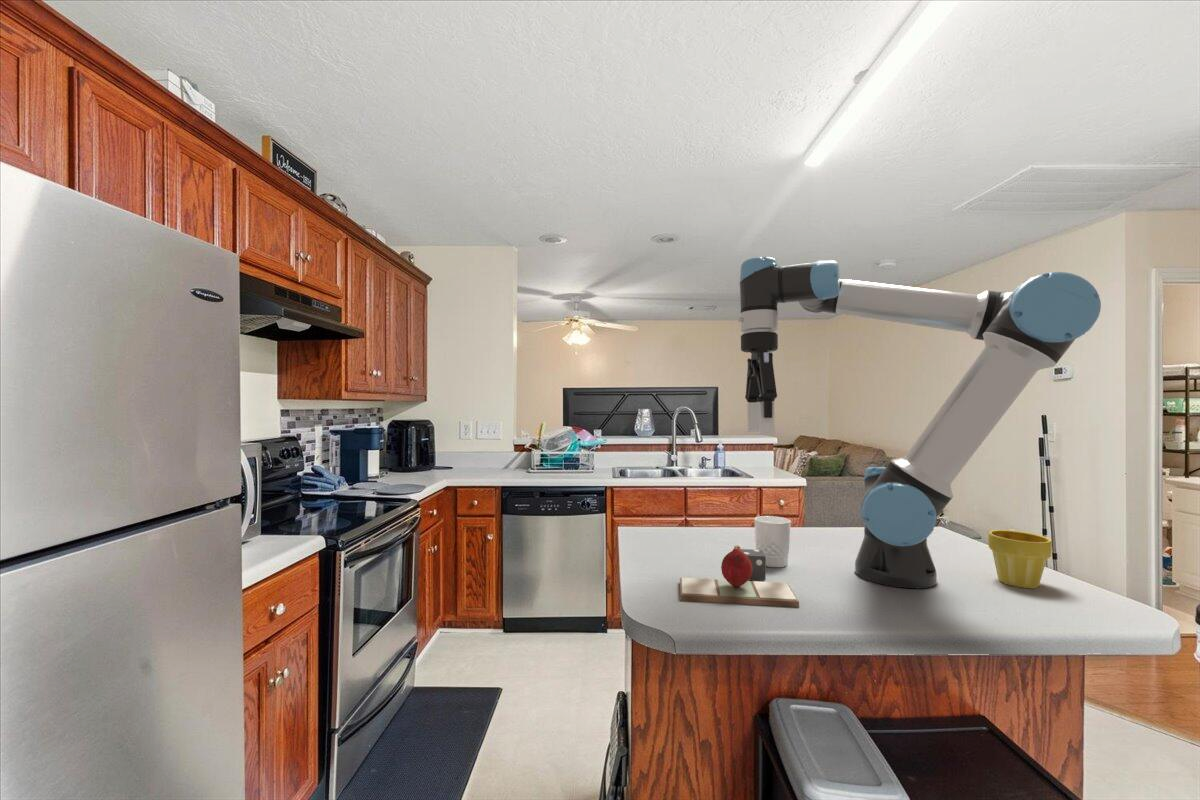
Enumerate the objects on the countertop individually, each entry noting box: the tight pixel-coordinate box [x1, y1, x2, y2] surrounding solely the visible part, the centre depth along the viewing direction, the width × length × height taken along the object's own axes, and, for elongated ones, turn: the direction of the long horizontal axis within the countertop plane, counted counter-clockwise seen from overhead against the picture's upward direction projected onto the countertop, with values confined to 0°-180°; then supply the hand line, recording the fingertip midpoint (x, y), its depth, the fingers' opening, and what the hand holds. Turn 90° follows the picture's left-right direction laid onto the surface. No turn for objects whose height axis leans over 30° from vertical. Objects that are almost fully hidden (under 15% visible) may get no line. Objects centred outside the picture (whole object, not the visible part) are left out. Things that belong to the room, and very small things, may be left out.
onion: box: [720, 545, 753, 588], centre depth 103 cm, size 6×6×8 cm
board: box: [679, 577, 800, 608], centre depth 103 cm, size 21×10×1 cm, turn 82°
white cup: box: [754, 515, 792, 568], centre depth 124 cm, size 8×8×10 cm
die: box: [740, 548, 767, 581], centre depth 115 cm, size 5×5×5 cm
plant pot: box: [987, 529, 1053, 589], centre depth 111 cm, size 10×10×10 cm
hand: (760, 433), depth 114 cm, fingers open, 13 cm apart
